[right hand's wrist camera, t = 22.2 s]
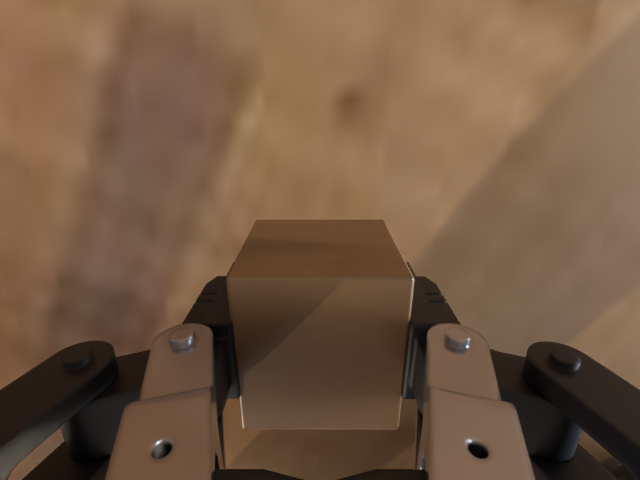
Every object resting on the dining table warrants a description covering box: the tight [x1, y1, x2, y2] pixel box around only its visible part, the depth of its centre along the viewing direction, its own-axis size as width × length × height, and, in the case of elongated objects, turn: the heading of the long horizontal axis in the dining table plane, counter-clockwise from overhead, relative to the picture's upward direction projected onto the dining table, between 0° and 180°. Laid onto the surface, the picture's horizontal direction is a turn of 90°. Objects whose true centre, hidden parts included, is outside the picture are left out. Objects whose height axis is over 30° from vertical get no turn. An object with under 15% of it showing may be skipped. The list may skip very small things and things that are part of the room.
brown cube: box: [226, 220, 415, 429], centre depth 10 cm, size 4×4×4 cm
